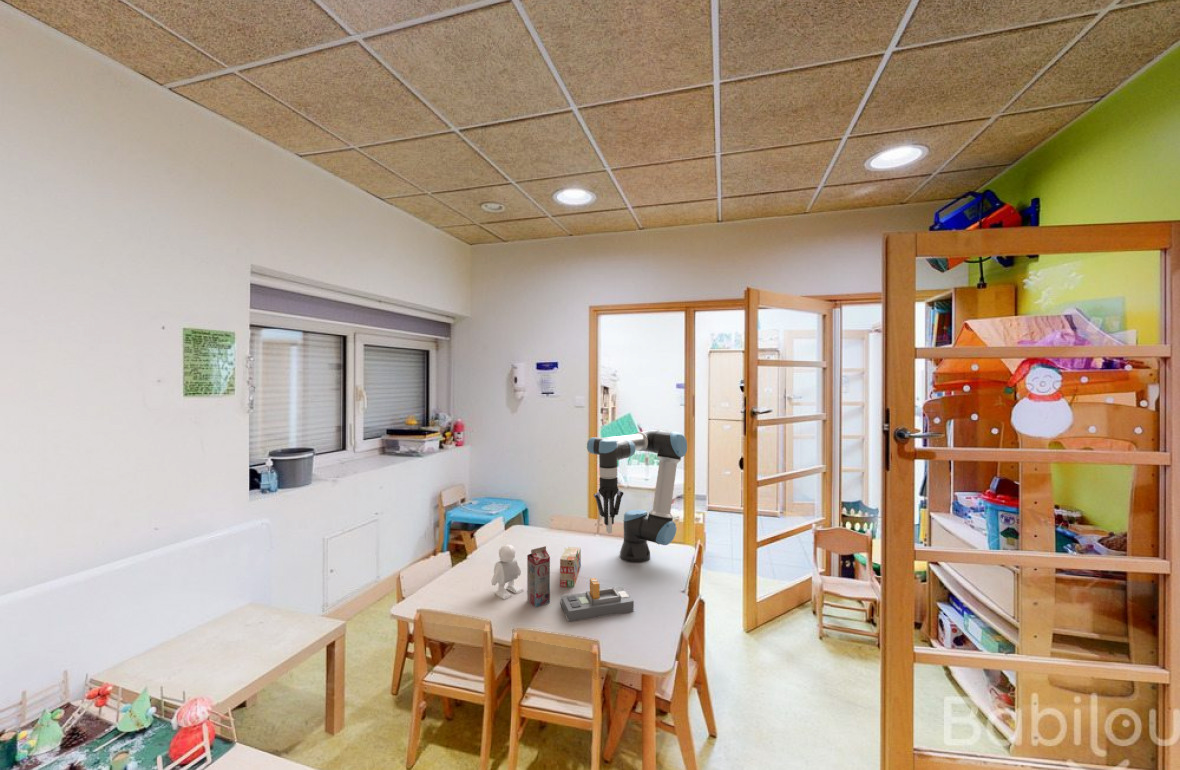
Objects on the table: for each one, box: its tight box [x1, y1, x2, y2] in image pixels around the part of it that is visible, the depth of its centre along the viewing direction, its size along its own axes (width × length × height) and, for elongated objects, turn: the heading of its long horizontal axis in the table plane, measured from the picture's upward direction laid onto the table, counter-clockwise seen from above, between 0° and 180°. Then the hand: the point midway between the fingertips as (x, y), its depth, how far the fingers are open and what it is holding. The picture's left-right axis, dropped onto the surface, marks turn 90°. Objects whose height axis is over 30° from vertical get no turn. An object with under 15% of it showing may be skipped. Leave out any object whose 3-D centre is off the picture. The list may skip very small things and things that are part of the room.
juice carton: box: [526, 545, 551, 608], centre depth 184 cm, size 7×7×22 cm
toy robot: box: [491, 543, 524, 600], centre depth 192 cm, size 14×9×20 cm, turn 137°
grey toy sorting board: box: [560, 587, 635, 623], centre depth 179 cm, size 26×12×6 cm, turn 107°
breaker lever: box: [589, 577, 601, 599], centre depth 178 cm, size 2×5×7 cm, turn 17°
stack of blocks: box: [559, 546, 582, 588], centre depth 207 cm, size 21×6×12 cm, turn 173°
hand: (609, 531), depth 191 cm, fingers closed
